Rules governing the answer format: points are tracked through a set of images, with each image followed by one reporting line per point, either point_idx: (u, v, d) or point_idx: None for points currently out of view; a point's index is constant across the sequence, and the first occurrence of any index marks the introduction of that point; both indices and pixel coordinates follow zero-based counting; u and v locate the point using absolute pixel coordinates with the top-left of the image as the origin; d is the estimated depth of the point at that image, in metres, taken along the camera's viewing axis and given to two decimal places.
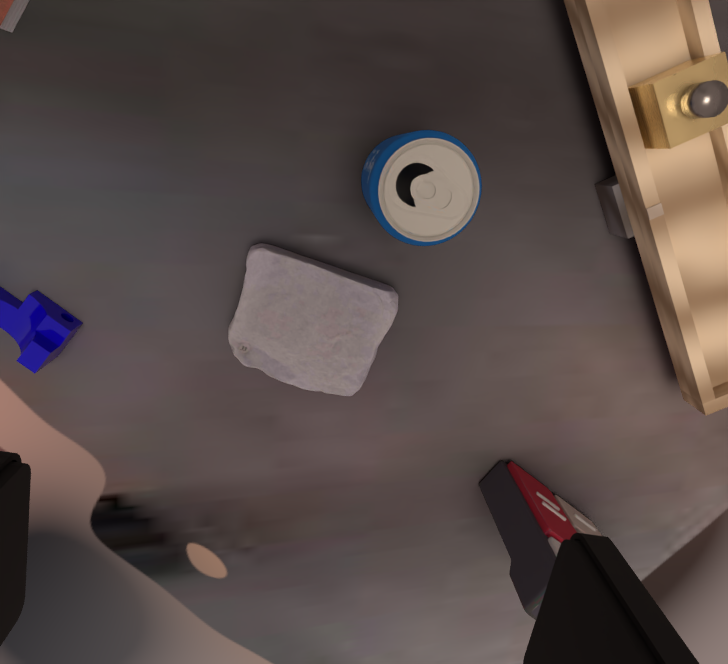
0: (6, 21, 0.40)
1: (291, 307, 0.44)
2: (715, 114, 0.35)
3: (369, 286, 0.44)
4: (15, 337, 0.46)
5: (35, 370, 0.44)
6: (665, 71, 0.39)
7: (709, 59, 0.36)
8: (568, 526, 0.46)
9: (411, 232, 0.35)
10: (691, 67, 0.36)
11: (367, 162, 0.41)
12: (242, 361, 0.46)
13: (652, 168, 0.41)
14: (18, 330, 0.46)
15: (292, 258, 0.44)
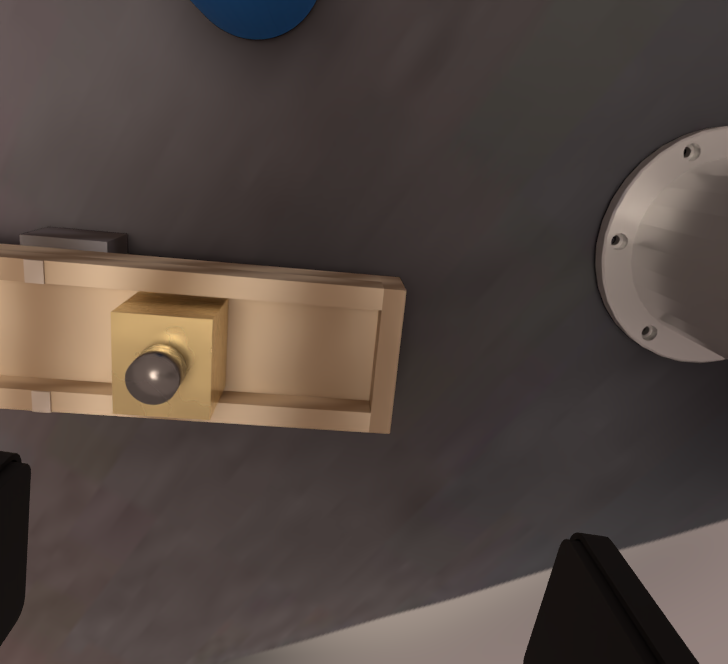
0: None
1: None
2: (127, 378, 0.24)
3: None
4: None
5: None
6: (224, 354, 0.29)
7: (209, 399, 0.26)
8: None
9: None
10: (209, 374, 0.25)
11: None
12: None
13: (105, 297, 0.28)
14: None
15: None
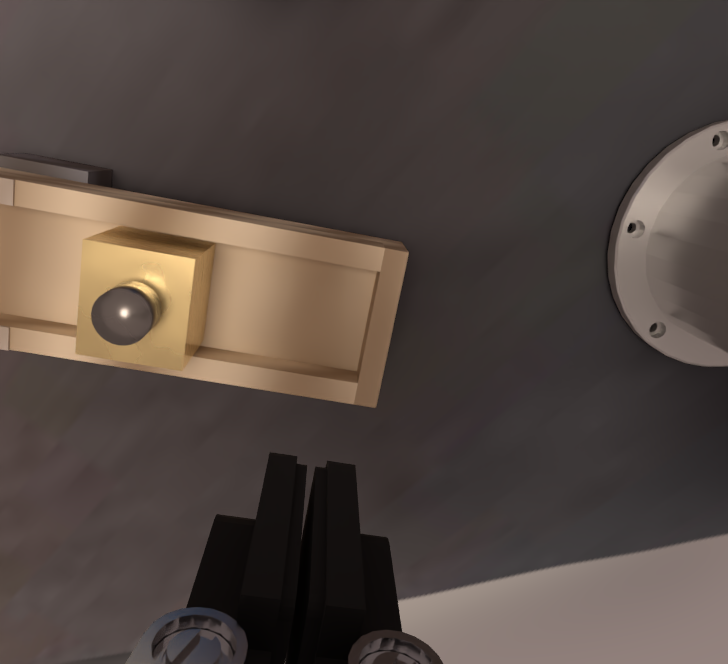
0: None
1: None
2: (94, 313, 0.21)
3: None
4: None
5: None
6: (205, 305, 0.26)
7: (183, 347, 0.23)
8: None
9: None
10: (186, 320, 0.23)
11: None
12: None
13: (80, 230, 0.26)
14: None
15: None
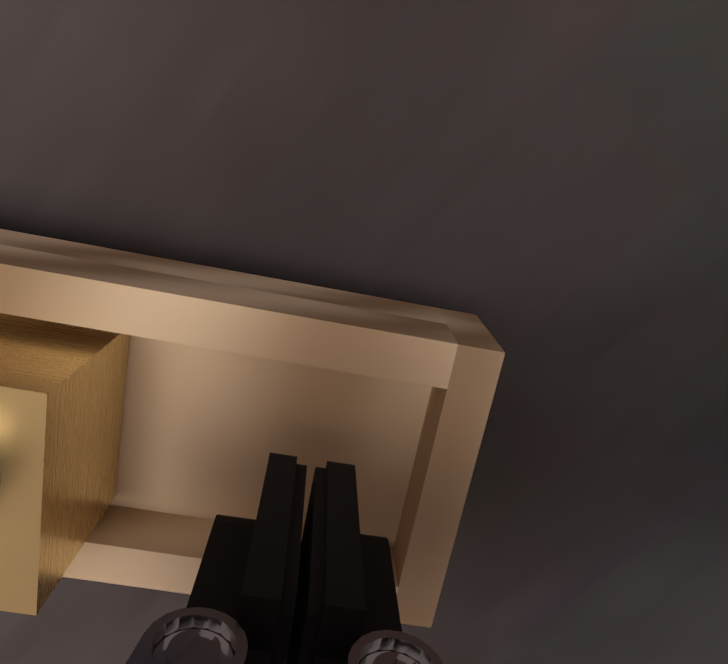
0: None
1: None
2: None
3: None
4: None
5: None
6: (111, 442, 0.14)
7: (34, 571, 0.11)
8: None
9: None
10: (37, 517, 0.11)
11: None
12: None
13: None
14: None
15: None
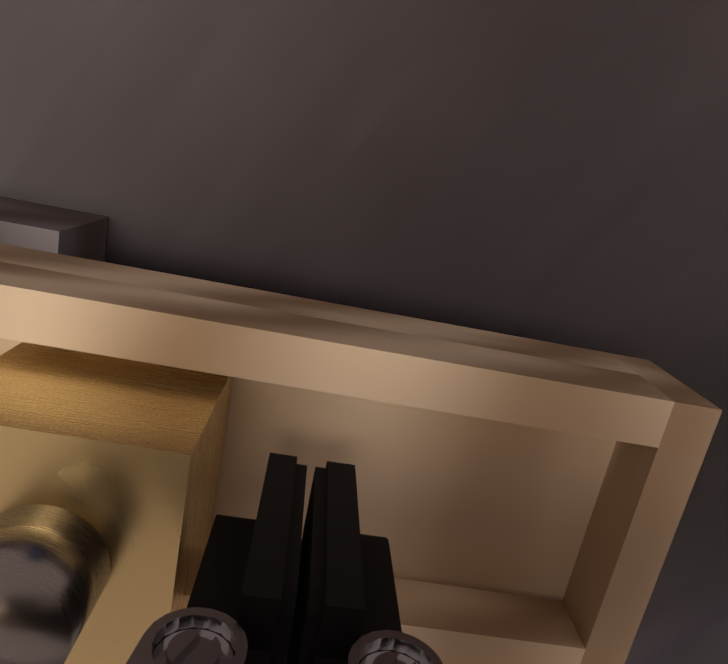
0: None
1: None
2: None
3: None
4: None
5: None
6: (213, 488, 0.13)
7: None
8: None
9: None
10: (170, 586, 0.10)
11: None
12: None
13: None
14: None
15: None
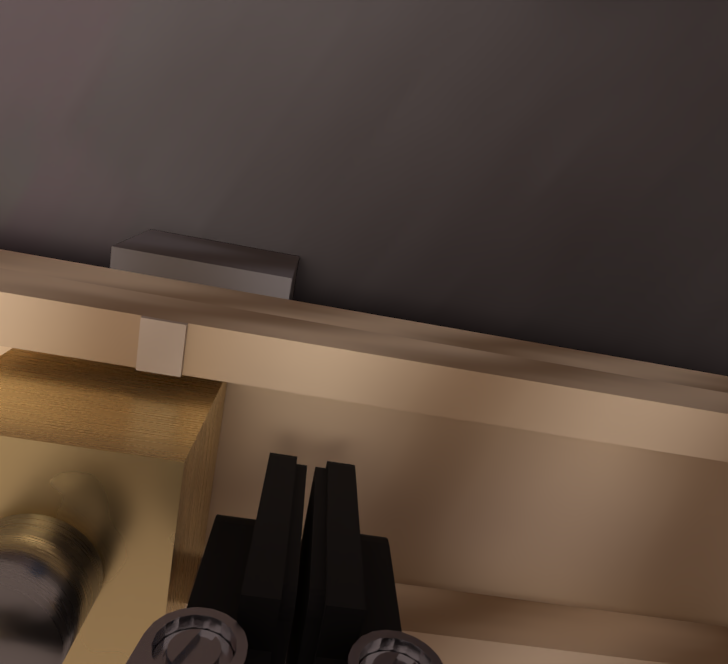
0: None
1: None
2: None
3: None
4: None
5: None
6: (208, 494, 0.13)
7: None
8: None
9: None
10: (163, 595, 0.10)
11: None
12: None
13: (288, 400, 0.13)
14: None
15: None
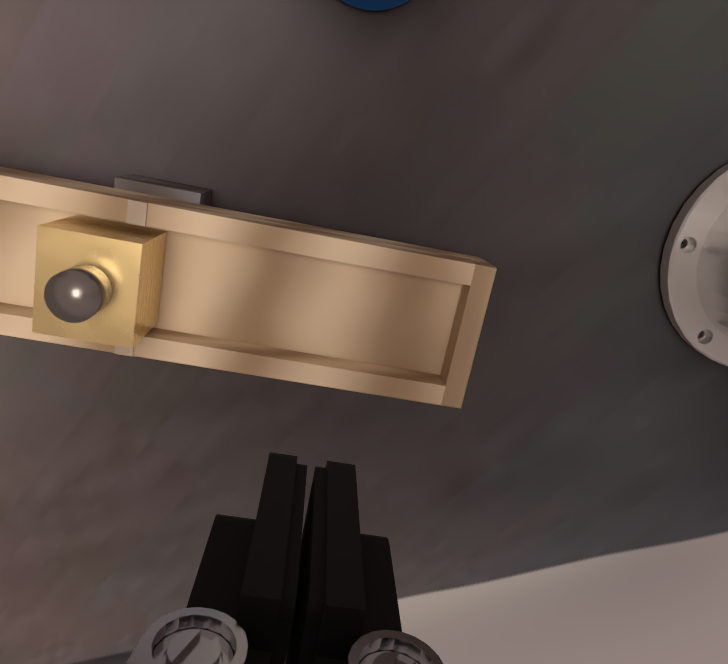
0: None
1: None
2: (46, 292, 0.23)
3: None
4: None
5: None
6: (158, 289, 0.28)
7: (132, 326, 0.25)
8: None
9: None
10: (135, 300, 0.25)
11: None
12: None
13: (196, 247, 0.28)
14: None
15: None
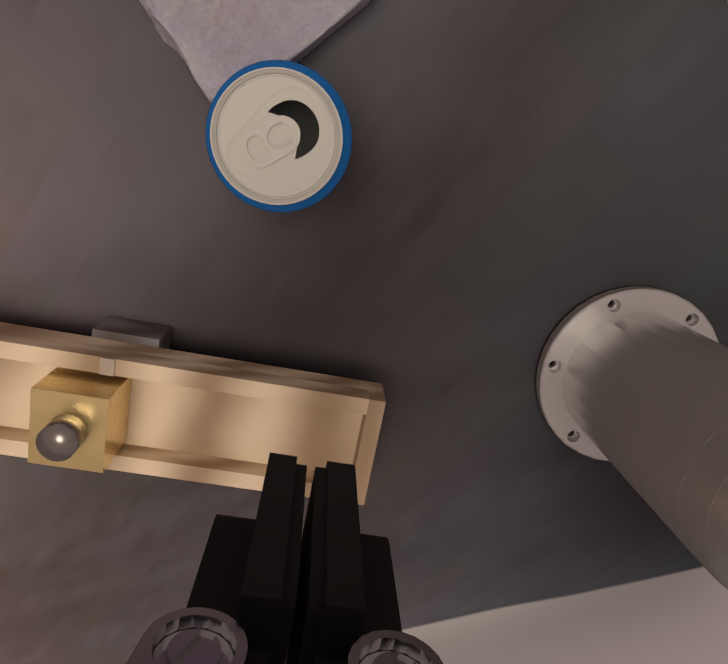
0: None
1: None
2: (37, 441, 0.31)
3: None
4: None
5: None
6: (125, 417, 0.37)
7: (103, 457, 0.34)
8: None
9: (242, 86, 0.26)
10: (104, 439, 0.33)
11: None
12: None
13: (155, 384, 0.37)
14: None
15: (342, 16, 0.33)
